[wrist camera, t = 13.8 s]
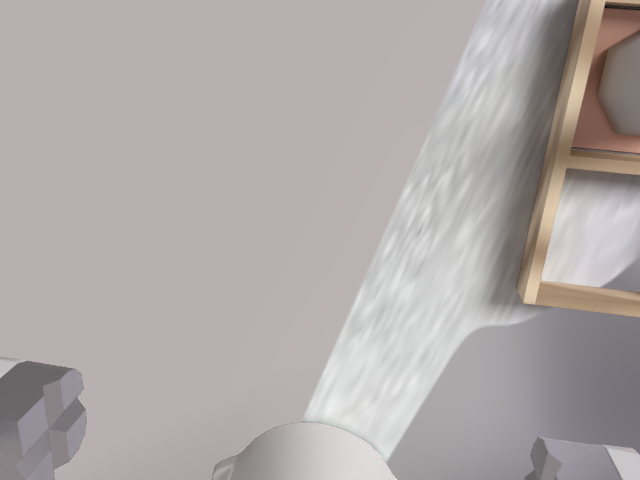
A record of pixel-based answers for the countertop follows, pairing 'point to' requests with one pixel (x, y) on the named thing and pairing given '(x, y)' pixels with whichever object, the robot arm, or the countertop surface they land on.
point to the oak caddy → (581, 154)
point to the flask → (622, 86)
